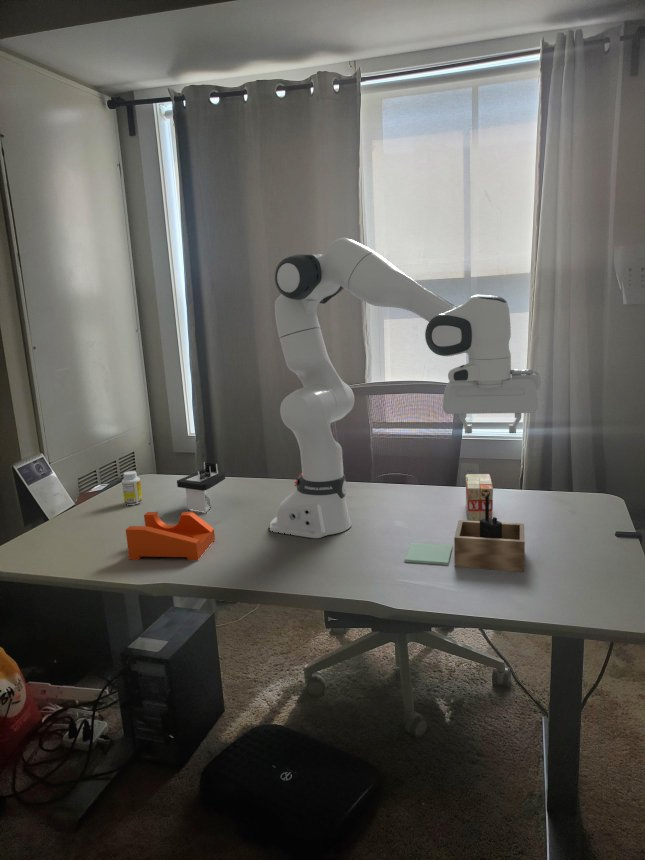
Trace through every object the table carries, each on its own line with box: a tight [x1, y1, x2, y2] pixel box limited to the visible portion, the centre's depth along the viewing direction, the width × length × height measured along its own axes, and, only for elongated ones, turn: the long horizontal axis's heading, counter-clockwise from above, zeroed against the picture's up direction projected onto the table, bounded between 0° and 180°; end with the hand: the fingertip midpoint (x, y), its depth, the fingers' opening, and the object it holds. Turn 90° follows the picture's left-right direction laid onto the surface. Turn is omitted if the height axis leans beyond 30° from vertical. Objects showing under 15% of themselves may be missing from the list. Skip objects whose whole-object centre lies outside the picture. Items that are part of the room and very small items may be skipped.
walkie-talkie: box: [480, 496, 502, 539], centre depth 141 cm, size 5×3×15 cm
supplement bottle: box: [121, 470, 143, 506], centre depth 196 cm, size 6×6×10 cm
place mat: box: [404, 542, 453, 566], centre depth 147 cm, size 10×10×1 cm
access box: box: [453, 519, 526, 573], centre depth 142 cm, size 15×11×7 cm
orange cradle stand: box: [125, 511, 216, 561], centre depth 157 cm, size 18×13×8 cm
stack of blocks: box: [464, 473, 494, 521], centre depth 167 cm, size 21×6×12 cm, turn 169°
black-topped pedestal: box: [176, 461, 226, 512], centre depth 188 cm, size 28×26×13 cm
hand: (490, 432), depth 137 cm, fingers open, 8 cm apart
